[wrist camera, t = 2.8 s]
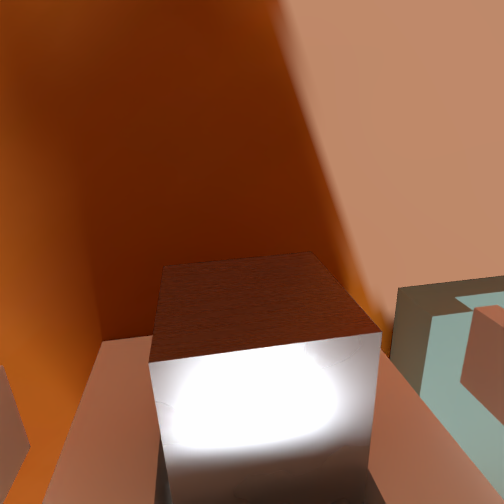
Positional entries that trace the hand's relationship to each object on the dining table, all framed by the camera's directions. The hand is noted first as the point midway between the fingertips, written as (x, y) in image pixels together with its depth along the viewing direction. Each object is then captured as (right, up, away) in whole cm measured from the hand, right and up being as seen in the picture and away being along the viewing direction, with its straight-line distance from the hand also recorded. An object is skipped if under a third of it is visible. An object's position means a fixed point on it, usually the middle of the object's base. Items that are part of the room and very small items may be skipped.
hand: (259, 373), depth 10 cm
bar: (0, -3, +3) cm, 5 cm away
